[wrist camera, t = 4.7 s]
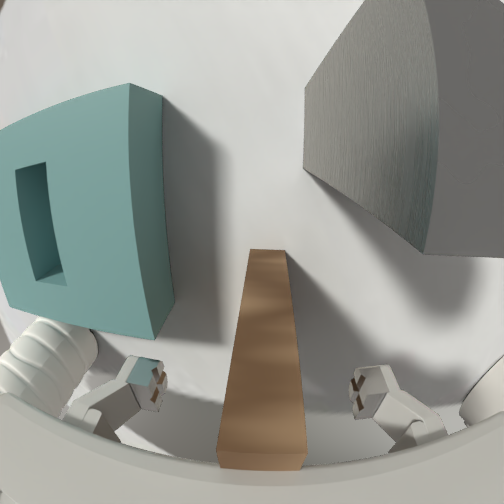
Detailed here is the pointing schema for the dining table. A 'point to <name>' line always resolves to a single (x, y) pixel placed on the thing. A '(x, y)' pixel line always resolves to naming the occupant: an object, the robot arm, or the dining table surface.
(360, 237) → the dining table surface
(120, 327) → the socket block
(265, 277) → the walnut blade
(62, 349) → the water bottle
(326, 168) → the square metal peg
